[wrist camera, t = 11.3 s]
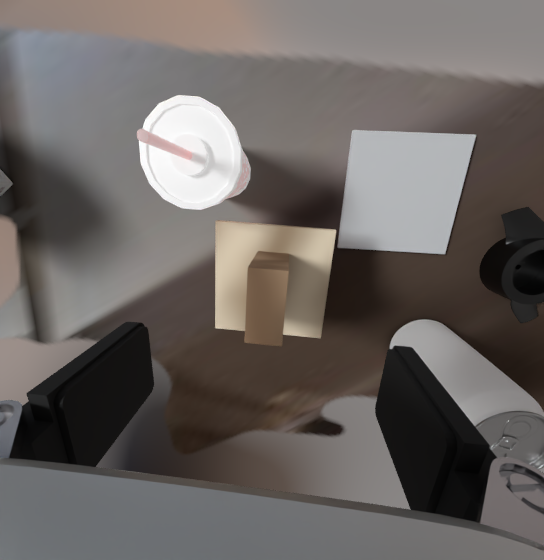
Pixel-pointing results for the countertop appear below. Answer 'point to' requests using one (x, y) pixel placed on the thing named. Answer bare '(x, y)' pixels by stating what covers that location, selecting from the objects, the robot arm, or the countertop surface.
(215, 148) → the beverage cup
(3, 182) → the supplement box
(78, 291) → the countertop surface
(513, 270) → the black winged knob
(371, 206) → the mat
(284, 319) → the lid
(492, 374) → the can
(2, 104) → the countertop surface
